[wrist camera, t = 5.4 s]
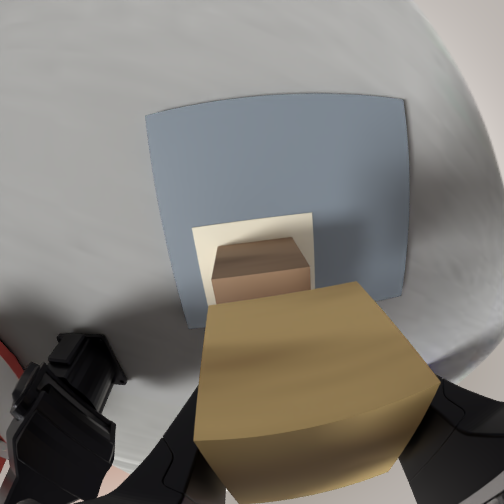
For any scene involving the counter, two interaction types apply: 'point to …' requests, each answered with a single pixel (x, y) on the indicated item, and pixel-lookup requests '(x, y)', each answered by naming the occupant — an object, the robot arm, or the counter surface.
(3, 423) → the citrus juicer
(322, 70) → the counter surface
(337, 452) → the ochre block
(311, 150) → the board
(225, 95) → the counter surface
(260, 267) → the walnut block
